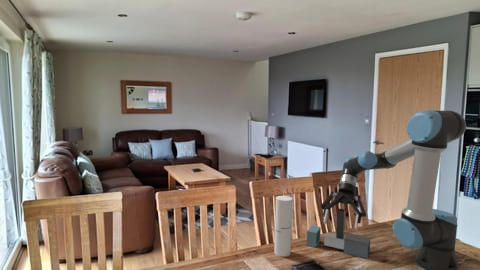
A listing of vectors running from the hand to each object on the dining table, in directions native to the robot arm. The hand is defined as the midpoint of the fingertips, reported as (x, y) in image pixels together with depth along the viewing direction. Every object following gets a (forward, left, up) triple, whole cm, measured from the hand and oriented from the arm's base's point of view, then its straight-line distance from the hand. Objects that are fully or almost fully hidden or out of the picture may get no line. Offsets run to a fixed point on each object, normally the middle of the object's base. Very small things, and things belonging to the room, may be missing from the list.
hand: (339, 226), depth 145 cm
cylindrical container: (+22, +14, -12) cm, 28 cm away
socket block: (+12, -2, -12) cm, 17 cm away
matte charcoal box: (-7, -2, -12) cm, 14 cm away
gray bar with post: (-2, -2, -10) cm, 11 cm away
